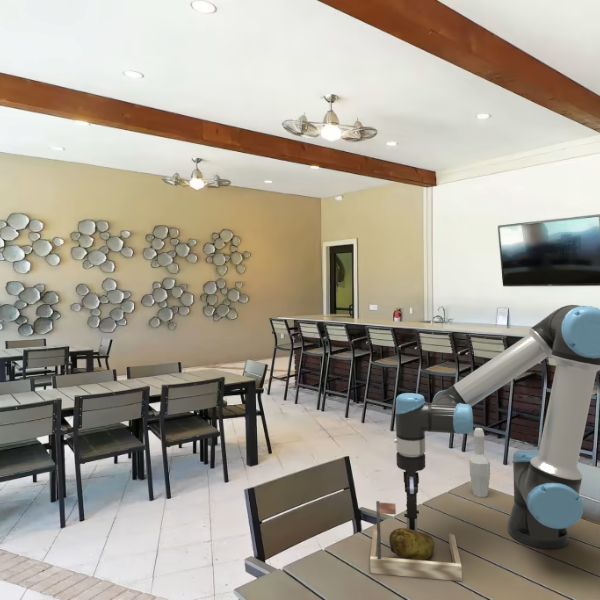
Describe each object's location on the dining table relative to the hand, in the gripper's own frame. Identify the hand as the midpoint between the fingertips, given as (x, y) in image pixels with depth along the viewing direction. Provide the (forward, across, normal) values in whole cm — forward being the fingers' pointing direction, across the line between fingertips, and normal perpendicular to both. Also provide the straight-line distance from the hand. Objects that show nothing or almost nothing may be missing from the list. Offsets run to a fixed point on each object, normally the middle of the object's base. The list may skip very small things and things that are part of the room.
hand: (412, 539), depth 128 cm
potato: (+2, +6, 0) cm, 6 cm away
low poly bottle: (+2, -37, +23) cm, 44 cm away
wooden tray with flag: (+2, +5, 0) cm, 6 cm away
